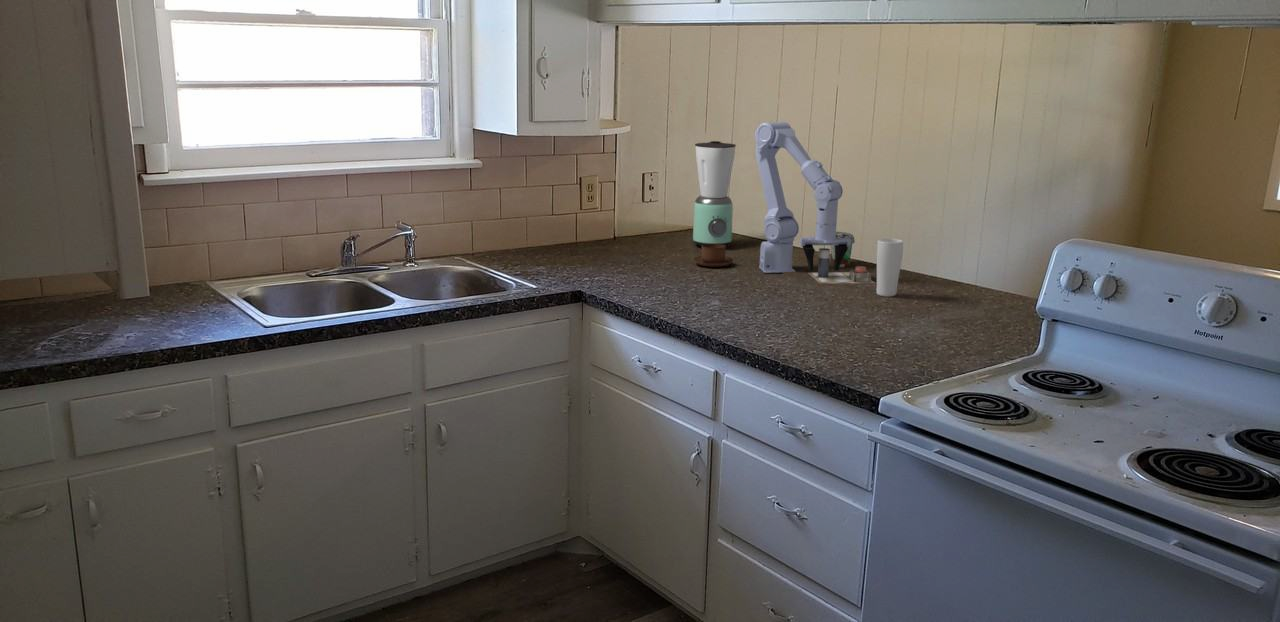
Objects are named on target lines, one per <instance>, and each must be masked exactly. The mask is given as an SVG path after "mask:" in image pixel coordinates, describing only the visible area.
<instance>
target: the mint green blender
mask: <svg viewBox="0 0 1280 622" xmlns="http://www.w3.org/2000/svg"><path fill="white" fill-rule="evenodd" d="M694 146H695V161H696V167H697V168H696V169H697V176H698V177H697V178H698V185H699V193H700V195H698V196H697V197H696V199H695V200H694V204H693V224H692V225H693V229H692V243H693V244H695V245H696V246H700V249H701V248H702V245H703V244H722V245H725V246H726V248H728V249H729V248H730V245H731V244H732V241H733V211H734V209H733V201H732V199H731V198H730V197H729V196H728V192H729V187H730V182H731V177H732V170H733V166H734V161H735V152H736V147H737V144H735V143H728V142H726V143H725V142H721V141H719V140H718V141H716V140H713V141H712V140H711V141H710V142H709V141H708V142H698V143H695V144H694Z"/></svg>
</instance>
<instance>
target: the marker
mask: <svg viewBox="0 0 1280 622" xmlns="http://www.w3.org/2000/svg"><path fill="white" fill-rule="evenodd" d="M830 256H831V248H827V247H823V248H822V247H820V248H818V267H817V273H818V277H828V274H829V273H830V272H829V270H830V269H829V268H830Z"/></svg>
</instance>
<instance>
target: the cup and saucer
mask: <svg viewBox="0 0 1280 622" xmlns="http://www.w3.org/2000/svg"><path fill="white" fill-rule="evenodd" d="M726 250H727V249H726V246H725V245H722V244H703V245H702V249H701V255H699V256H696V257H693V261H694V263H695V264H696V265H699V266H702V267H707V268H723V267H726V266H729V265H731V264H732V263H733V261H734V260H733V258H731V257H728V256H726Z"/></svg>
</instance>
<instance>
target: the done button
mask: <svg viewBox="0 0 1280 622" xmlns="http://www.w3.org/2000/svg"><path fill="white" fill-rule="evenodd" d="M854 270H855V273H866V271H867V266H862V265H861V266H860V265H857V266H855V267H854Z"/></svg>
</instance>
